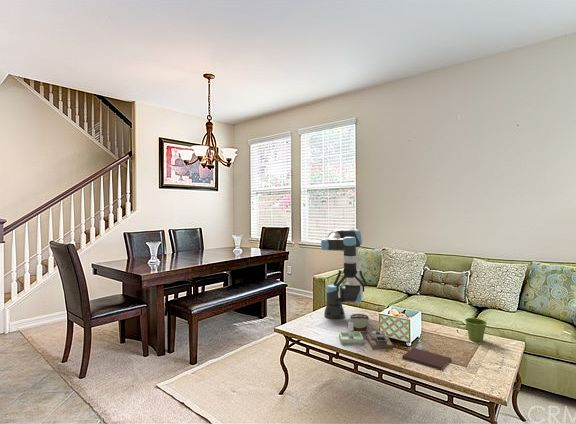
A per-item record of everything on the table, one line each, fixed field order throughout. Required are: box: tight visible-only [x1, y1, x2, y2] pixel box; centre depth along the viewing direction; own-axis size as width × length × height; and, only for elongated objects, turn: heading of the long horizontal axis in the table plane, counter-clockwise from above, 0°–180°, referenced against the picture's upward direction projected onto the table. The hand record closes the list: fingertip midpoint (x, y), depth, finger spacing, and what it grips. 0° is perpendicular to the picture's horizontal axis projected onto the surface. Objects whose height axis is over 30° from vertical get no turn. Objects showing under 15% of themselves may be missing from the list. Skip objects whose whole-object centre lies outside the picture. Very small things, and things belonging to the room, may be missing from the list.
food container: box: [349, 313, 370, 333], centre depth 218 cm, size 12×6×10 cm, turn 84°
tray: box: [338, 331, 365, 345], centre depth 202 cm, size 12×13×3 cm
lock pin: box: [347, 320, 354, 339], centre depth 202 cm, size 3×3×10 cm
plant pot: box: [464, 317, 488, 343], centre depth 199 cm, size 12×12×11 cm
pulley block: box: [365, 330, 394, 350], centre depth 197 cm, size 16×12×5 cm
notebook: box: [401, 347, 452, 371], centre depth 175 cm, size 15×20×2 cm
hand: (350, 297), depth 201 cm, fingers open, 13 cm apart
